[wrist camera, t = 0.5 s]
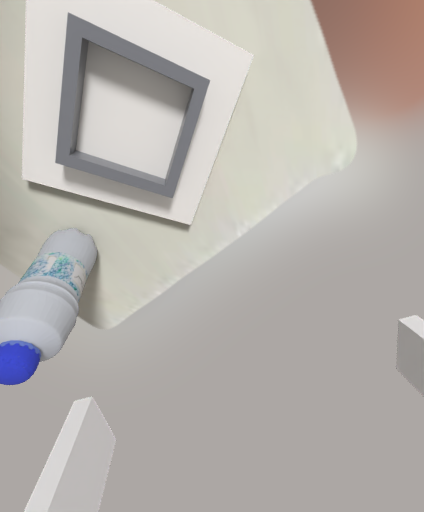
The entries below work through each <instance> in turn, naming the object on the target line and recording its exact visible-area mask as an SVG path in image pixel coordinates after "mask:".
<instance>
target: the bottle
mask: <svg viewBox="0 0 424 512" xmlns="http://www.w3.org/2000/svg"><path fill="white" fill-rule="evenodd" d="M96 257H97V248H96V247H95V245H94V242H93V238H92V237H91V236H90V235H89V234H87V235H85V234H83V233H81V232H79V231H78V229H77V228H70V229H67V230H58V231H56V232H54V233H53V234H52V235H50V237H49V238H48V239H47V240H46V241H45V243H44V244H43V246H42V248H41V250H40V252H39V253H38V255H37V257H36V259H35V260H34V261H33V263H32V264H31V266H30V267H29V269H28V270H27V271H26V273H25V274H24V276H23V277H22V278H21V280H20V281H19V283H18V284H17V285H15V286H13V287H12V288H10V289H9V290H8V291H7V292H6V294H5V296H4V297H3V298H1V300H0V384H4V385H15V384H20V383H23V382H25V381H26V380H28V379H29V378H30V377H31V376H32V375H33V374H34V372H35V370H36V369H37V366H38V364H39V362H41V361H45V360H48V359H50V358H52V357H53V356H55V355H56V354H57V353H58V352H59V351H60V350H61V348H62V346H63V345H64V343H65V341H66V339H67V337H68V335H69V334H70V332H71V330H72V328H73V327H74V326H75V323H76V317H77V315H78V311H79V307H78V302H79V300H80V297H81V294H82V291H83V289H84V286H85V283H86V280H87V278H88V276H89V274H90V272H91V270H92V268H93V266H94V264H95V261H96Z"/></svg>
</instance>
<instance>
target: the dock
mask: <svg viewBox="0 0 424 512" xmlns="http://www.w3.org/2000/svg"><path fill="white" fill-rule="evenodd" d="M253 57H254V55H253V54H251V53H250V52H248V51H246V50H244V49H242V48H240V47H239V46H237V45H235V44H233V43H231V42H229V41H228V40H226V39H224V38H222V37H220V36H218V35H217V34H215V33H213V32H211V31H209V30H207V29H206V28H204V27H202V26H200V25H198V24H197V23H195V22H193V21H191V20H189V19H187V18H186V17H184V16H182V15H180V14H178V13H176V12H175V11H173V10H171V9H169V8H167V7H165V6H164V5H162V4H160V3H158V2H156V1H154V0H26V25H25V67H24V108H23V150H22V179H24V180H28V181H31V182H35V183H39V184H42V185H46V186H50V187H53V188H57V189H60V190H64V191H68V192H71V193H75V194H79V195H82V196H86V197H90V198H93V199H97V200H101V201H104V202H108V203H112V204H115V205H119V206H123V207H126V208H130V209H134V210H137V211H141V212H145V213H148V214H152V215H156V216H159V217H163V218H167V219H170V220H174V221H178V222H181V223H185V224H188V225H191V223H192V220H193V218H194V215H195V212H196V210H197V207H198V204H199V202H200V199H201V196H202V194H203V191H204V188H205V186H206V183H207V180H208V178H209V175H210V172H211V169H212V167H213V164H214V161H215V159H216V156H217V153H218V151H219V148H220V145H221V143H222V140H223V137H224V135H225V132H226V129H227V127H228V124H229V121H230V119H231V116H232V113H233V111H234V108H235V105H236V102H237V100H238V97H239V94H240V92H241V89H242V86H243V84H244V81H245V78H246V76H247V73H248V70H249V68H250V65H251V62H252V60H253Z"/></svg>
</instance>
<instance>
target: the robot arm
mask: <svg viewBox="0 0 424 512" xmlns="http://www.w3.org/2000/svg"><path fill="white" fill-rule="evenodd" d="M396 369H397V370H398V371H399V372H400V373H401V374H402V375H403V376H404V377H405V378H406V379H407V380H408V381H409V382H410V383H411V384H412V385H413V386H414V387H415V388H416V389H417V390H418V391H419V392H420V393H421V394H422V395H423V396H424V320H423V319H421V318H419V317H418V316H417V315H415V316H411V317H407V318H403V319H399V320H398V341H397V365H396ZM115 442H116V438H115V436H114V435H113V433H112V431H111V429H110V427H109V425H108V424H107V422H106V420H105V418H104V416H103V415H102V413H101V411H100V409H99V407H98V406H97V404H96V402H95V400H94V398H93V397H89V398H84V399H80V400H76V401H74V403H73V406H72V407H71V410H70V412H69V414H68V416H67V418H66V421H65V423H64V425H63V427H62V430H61V432H60V434H59V436H58V438H57V440H56V443H55V445H54V447H53V449H52V451H51V454H50V456H49V458H48V460H47V462H46V464H45V467H44V469H43V471H42V473H41V475H40V478H39V480H38V482H37V484H36V487H35V488H34V491H33V493H32V495H31V497H30V499H29V502H28V504H27V506H26V508H25V510H24V512H98V511H99V507H100V503H101V499H102V495H103V491H104V487H105V483H106V479H107V475H108V471H109V467H110V462H111V458H112V454H113V450H114V446H115Z"/></svg>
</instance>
